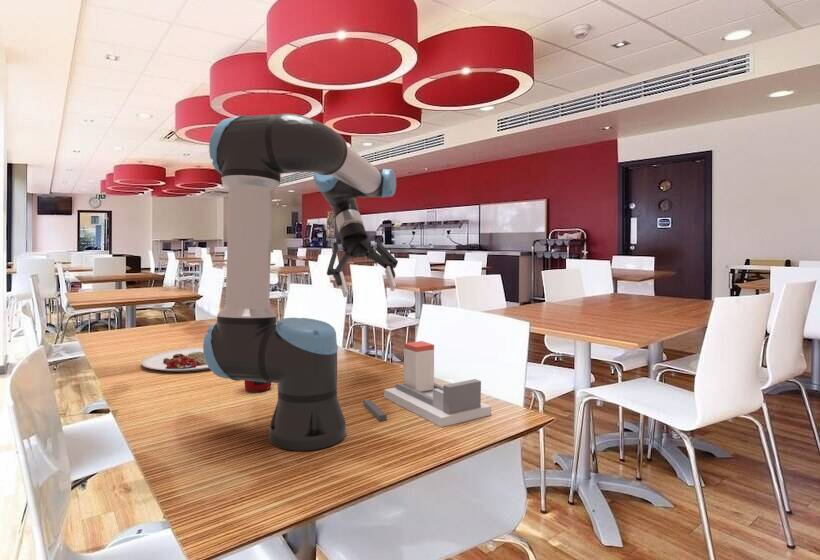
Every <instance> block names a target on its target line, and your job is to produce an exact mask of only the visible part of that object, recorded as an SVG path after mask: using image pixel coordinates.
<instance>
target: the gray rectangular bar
mask: <svg viewBox="0 0 820 560" xmlns="http://www.w3.org/2000/svg"><path fill="white" fill-rule="evenodd" d="M362 403H363V404H362V405H363V406H364V408H366V409H367V411H369V412H370V413H371V415H373V416H374V417H375V418H376V419H377V420H378V422H385V421H387V417H388V416H387V415H388V414H386V413H385V412H384V410H382V409H381V408H380V407H379V406H378V405H377V404H376V403H374V401H372V400H371V399H370V398H366V399H363V400H362Z"/></svg>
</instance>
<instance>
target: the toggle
mask: <svg viewBox="0 0 820 560" xmlns="http://www.w3.org/2000/svg"><path fill="white" fill-rule="evenodd" d="M434 383H435V344H433V343H430V342H426V341H423V340H421V341H420V340H419V341H418V340H417V341H411V342H404V343H403V384H404V385H407V386H409V387H411V388H413V389H415V390H418V391H420V392H422V391H427V390H432V389H434Z"/></svg>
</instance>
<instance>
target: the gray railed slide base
mask: <svg viewBox="0 0 820 560" xmlns="http://www.w3.org/2000/svg"><path fill="white" fill-rule="evenodd" d="M481 396H482V380H479V379H477V378H476V379H475V378H474V379H469V380H463V381H457V382H453V383H448V384H443V386H442V385H441V384H438V383H436V382H434V389H432V390H427V391H422V392H420V391H418V390H415V389H413V388H411V387H409V386H407V385H404V383H402V382H396V383H395V387H391V388H390V387H389V388H386V389H384V398H385V399H388V400H389V401H390V402H393V403H395V404H397V405H399V406H400V407H402V408H404V409H406V410H408V411H410V412H412V413H413V414H416V415H417V416H419V417H422V418H423V419H425V420H427V421H428V422H431V423H433V424H434V425H436V426H439V427H440V428H443V427H448V426H451V425H456V424H460V423H465V422H467V421H468V422H469V421H472V420H476V419H481V418H485V417H489V416H491V415H492V406H491V405H489V404H486V403H484V402H482V401H481V400H482V399H481V398H482V397H481Z"/></svg>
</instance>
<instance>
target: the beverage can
mask: <svg viewBox="0 0 820 560" xmlns="http://www.w3.org/2000/svg"><path fill="white" fill-rule="evenodd" d="M271 387H272V383H269V382H257V381H245V380H244V388H245V389H246V390H247V391H249V392H251V393H252V392H253V393H258V392H259V393H260V392H261V393H262V392H264V391H267V390H268V389H269V388H271Z"/></svg>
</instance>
